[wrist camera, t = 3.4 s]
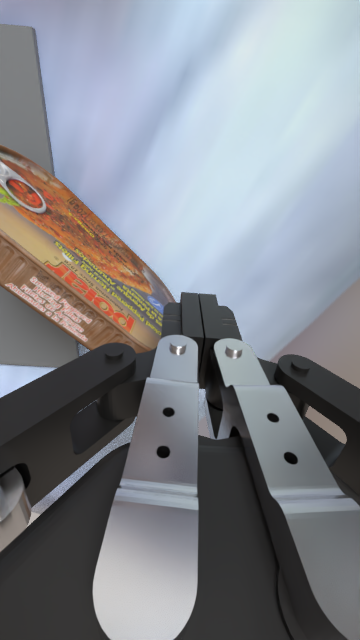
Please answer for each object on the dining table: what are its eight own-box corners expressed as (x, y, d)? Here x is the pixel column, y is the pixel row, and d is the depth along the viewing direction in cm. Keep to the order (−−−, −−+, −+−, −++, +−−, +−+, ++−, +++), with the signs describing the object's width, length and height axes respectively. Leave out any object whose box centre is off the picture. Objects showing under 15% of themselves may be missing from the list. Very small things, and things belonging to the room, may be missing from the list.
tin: (186, 303, 23) (196, 377, 16) (157, 326, 24) (154, 406, 17) (14, 133, 17) (-100, 126, 10) (-15, 174, 18) (-139, 196, 11)
